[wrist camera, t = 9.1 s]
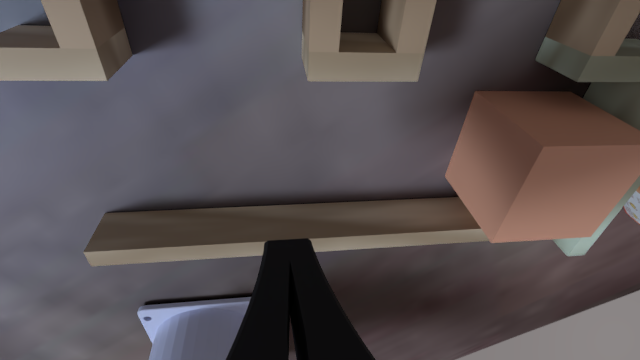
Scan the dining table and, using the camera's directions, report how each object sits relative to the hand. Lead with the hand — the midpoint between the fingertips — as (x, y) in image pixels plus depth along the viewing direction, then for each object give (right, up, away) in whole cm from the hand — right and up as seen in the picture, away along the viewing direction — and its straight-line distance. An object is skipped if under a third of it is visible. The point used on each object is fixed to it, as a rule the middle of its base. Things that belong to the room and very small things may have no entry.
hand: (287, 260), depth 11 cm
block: (+11, +5, +7) cm, 14 cm away
